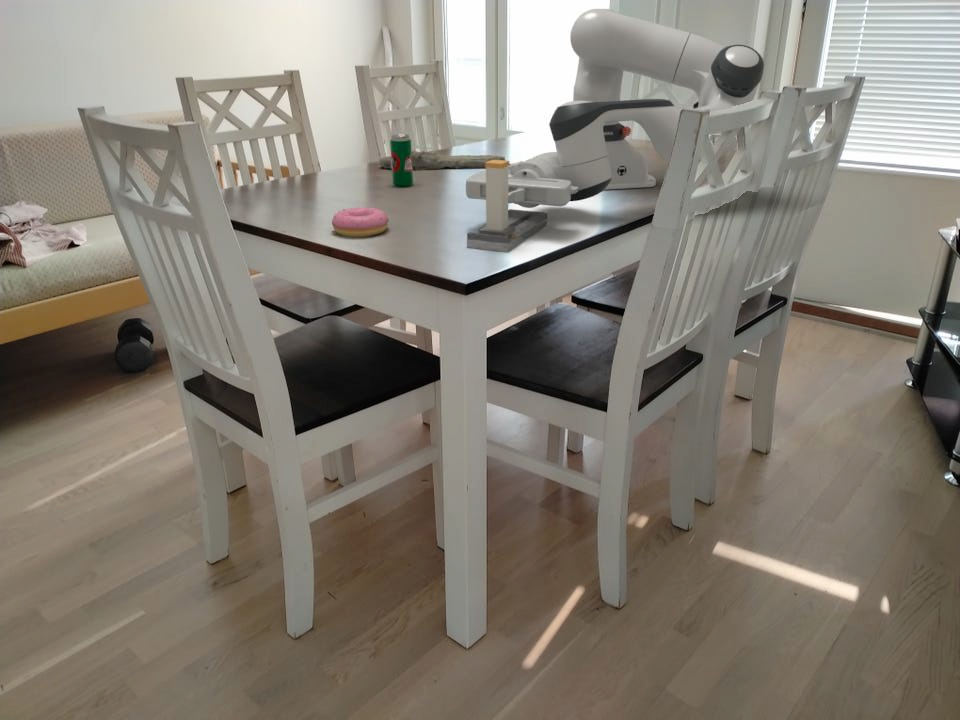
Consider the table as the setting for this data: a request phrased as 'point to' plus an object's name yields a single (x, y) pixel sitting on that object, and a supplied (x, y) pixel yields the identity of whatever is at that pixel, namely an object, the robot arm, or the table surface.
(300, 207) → the table surface
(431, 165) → the elongated rock
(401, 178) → the soda can
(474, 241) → the fader rail
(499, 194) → the fader tab
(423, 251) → the table surface
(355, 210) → the doughnut
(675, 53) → the robot arm
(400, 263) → the table surface
